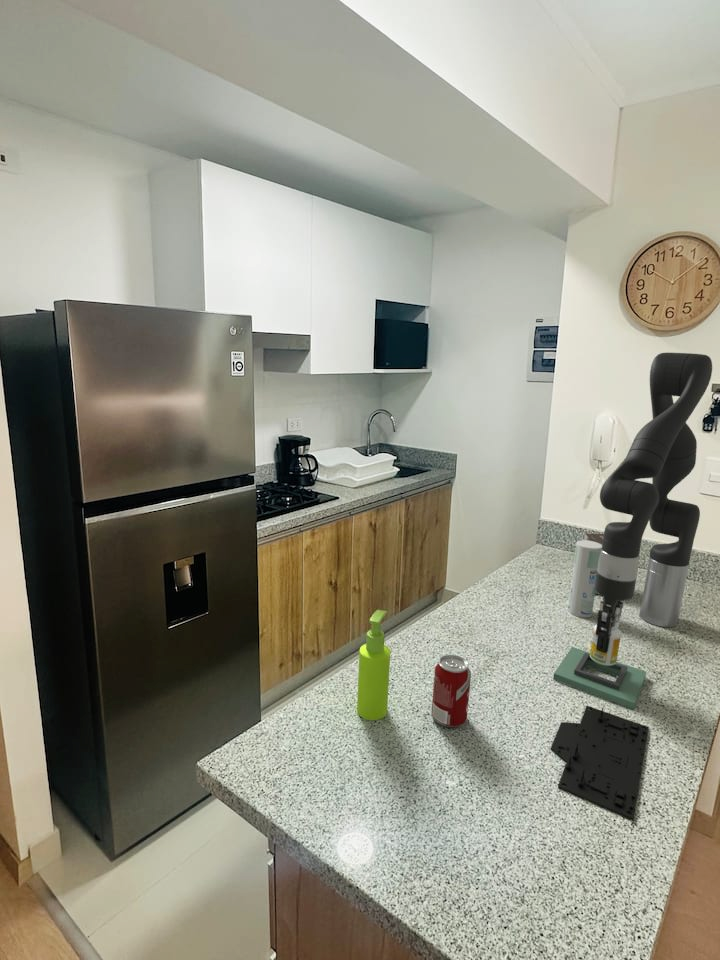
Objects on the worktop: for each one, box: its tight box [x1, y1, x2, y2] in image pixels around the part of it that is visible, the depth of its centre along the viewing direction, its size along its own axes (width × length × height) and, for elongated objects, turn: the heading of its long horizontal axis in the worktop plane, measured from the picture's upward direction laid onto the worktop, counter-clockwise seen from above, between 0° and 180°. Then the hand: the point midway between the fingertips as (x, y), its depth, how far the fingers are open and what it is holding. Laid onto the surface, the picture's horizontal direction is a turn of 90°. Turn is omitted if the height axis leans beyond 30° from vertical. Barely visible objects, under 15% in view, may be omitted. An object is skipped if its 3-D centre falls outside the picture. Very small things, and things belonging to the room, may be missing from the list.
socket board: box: [552, 646, 647, 710], centre depth 117 cm, size 14×16×2 cm
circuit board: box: [550, 705, 650, 822], centre depth 95 cm, size 25×14×3 cm, turn 148°
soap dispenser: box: [356, 609, 391, 721], centre depth 103 cm, size 6×7×20 cm
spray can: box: [567, 539, 602, 619], centre depth 146 cm, size 6×6×20 cm
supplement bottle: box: [589, 619, 622, 666], centre depth 115 cm, size 5×5×10 cm
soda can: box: [431, 654, 472, 728], centre depth 102 cm, size 7×7×12 cm
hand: (605, 645), depth 116 cm, fingers closed on supplement bottle, 5 cm apart
